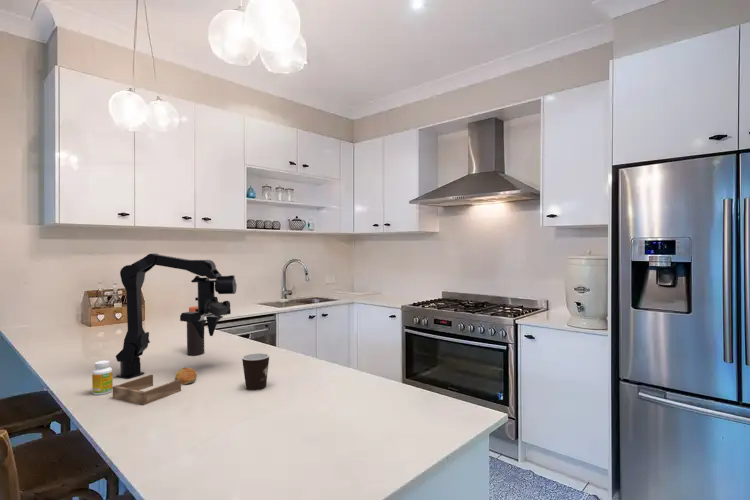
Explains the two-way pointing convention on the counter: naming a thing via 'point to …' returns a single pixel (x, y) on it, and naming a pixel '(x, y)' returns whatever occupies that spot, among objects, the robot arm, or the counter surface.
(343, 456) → the counter surface
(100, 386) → the supplement bottle
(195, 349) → the vinegar
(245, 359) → the coffee mug
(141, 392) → the box
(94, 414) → the counter surface
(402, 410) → the counter surface
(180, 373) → the pastry
